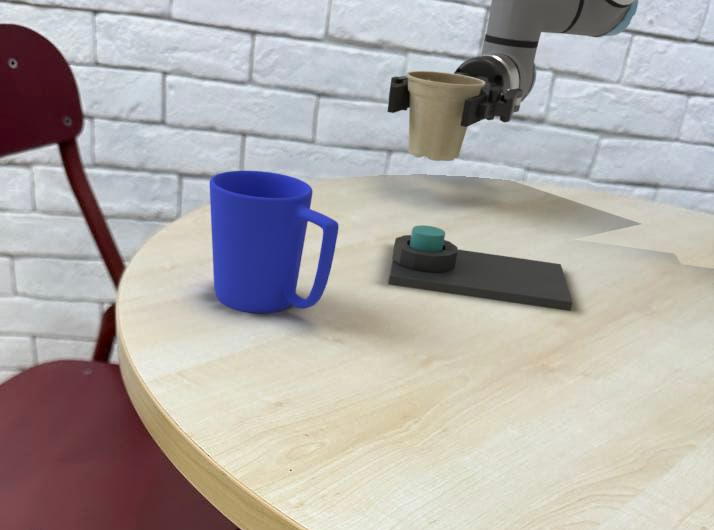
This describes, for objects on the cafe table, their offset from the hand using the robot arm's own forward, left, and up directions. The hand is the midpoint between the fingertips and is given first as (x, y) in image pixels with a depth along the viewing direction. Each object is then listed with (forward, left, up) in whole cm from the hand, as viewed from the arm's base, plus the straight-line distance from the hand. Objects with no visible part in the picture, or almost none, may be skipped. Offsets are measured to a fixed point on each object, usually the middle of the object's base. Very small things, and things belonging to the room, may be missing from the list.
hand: (428, 106), depth 98 cm
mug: (+11, +41, -11) cm, 43 cm away
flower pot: (-1, -4, -6) cm, 8 cm away
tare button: (-2, +26, -8) cm, 27 cm away
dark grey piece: (-7, +26, -11) cm, 29 cm away
